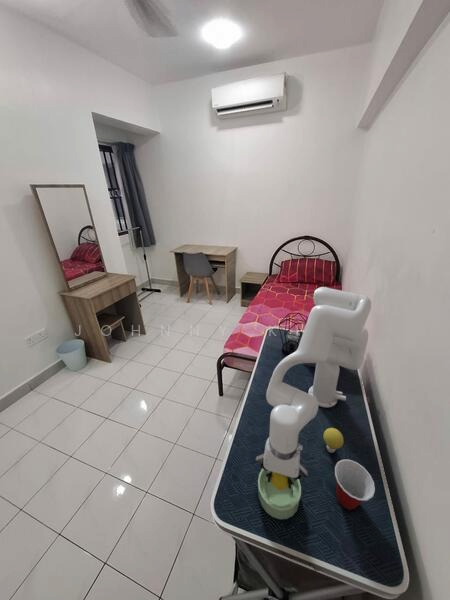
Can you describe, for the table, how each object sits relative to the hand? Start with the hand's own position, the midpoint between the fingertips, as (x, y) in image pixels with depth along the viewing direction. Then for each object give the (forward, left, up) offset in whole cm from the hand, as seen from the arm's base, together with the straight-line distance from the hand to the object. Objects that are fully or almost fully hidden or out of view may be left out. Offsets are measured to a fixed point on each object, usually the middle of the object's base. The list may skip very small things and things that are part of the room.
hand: (279, 479), depth 74 cm
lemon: (0, 0, -3) cm, 3 cm away
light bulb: (-17, -20, -8) cm, 28 cm away
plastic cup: (-21, -5, -8) cm, 23 cm away
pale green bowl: (0, 0, -8) cm, 8 cm away
